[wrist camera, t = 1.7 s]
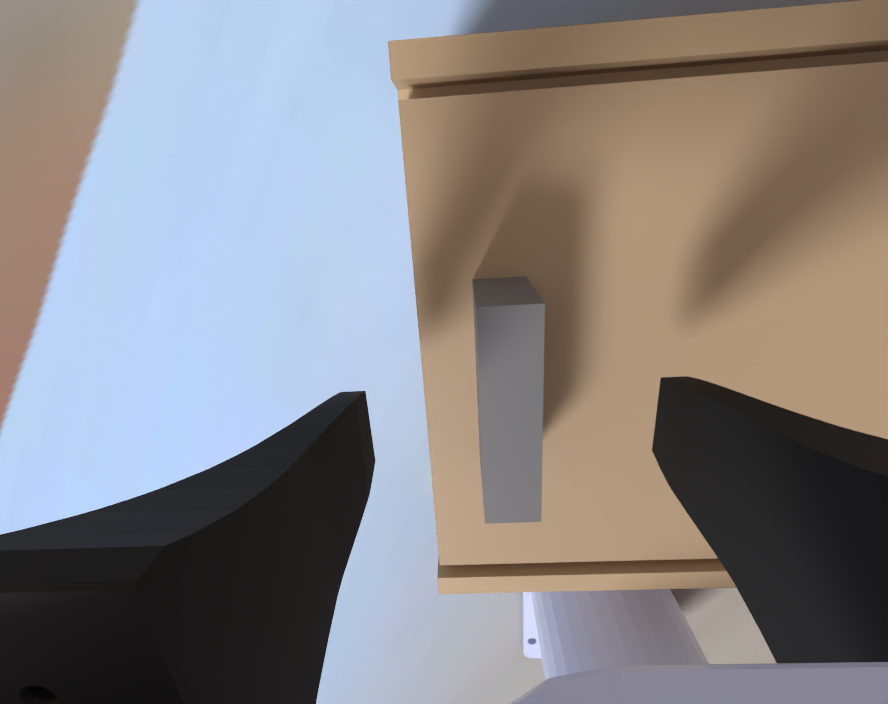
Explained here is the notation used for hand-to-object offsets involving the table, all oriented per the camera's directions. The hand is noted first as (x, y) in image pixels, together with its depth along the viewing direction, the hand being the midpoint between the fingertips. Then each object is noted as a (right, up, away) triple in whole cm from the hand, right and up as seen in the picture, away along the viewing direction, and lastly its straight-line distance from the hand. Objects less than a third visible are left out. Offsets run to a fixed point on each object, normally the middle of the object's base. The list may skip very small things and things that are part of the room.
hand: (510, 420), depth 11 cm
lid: (+6, +2, +3) cm, 7 cm away
